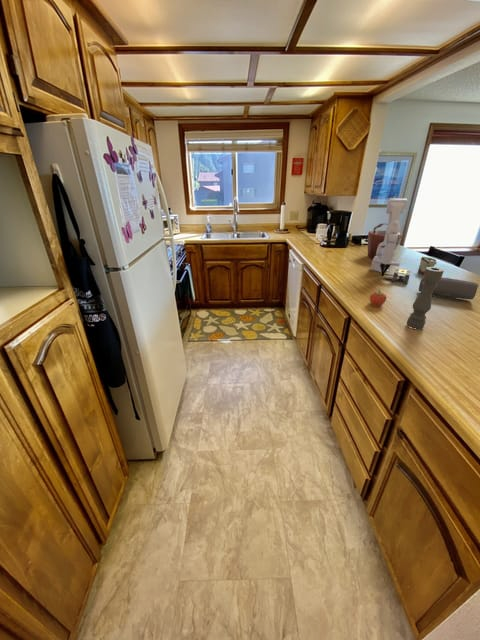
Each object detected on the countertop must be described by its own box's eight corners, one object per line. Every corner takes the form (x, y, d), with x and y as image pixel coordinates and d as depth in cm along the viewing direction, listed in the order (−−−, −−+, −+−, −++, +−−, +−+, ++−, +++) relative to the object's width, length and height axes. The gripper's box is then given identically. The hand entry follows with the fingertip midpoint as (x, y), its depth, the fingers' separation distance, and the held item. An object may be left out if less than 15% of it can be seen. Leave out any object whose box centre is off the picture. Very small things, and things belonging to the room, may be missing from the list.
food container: (435, 278, 162) (441, 262, 157) (424, 277, 163) (429, 262, 158) (427, 272, 173) (432, 257, 168) (416, 271, 174) (421, 256, 169)
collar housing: (391, 281, 158) (394, 272, 155) (393, 277, 164) (395, 268, 161) (406, 284, 154) (410, 274, 151) (407, 279, 160) (410, 270, 157)
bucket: (361, 253, 216) (367, 221, 204) (389, 254, 213) (398, 221, 201) (369, 261, 195) (377, 226, 183) (401, 262, 192) (411, 226, 180)
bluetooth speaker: (468, 297, 136) (476, 279, 131) (471, 304, 129) (480, 285, 124) (417, 289, 146) (423, 272, 142) (417, 295, 139) (423, 277, 135)
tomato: (383, 309, 125) (387, 294, 122) (366, 306, 129) (370, 290, 125) (385, 303, 131) (389, 288, 127) (369, 300, 134) (372, 286, 131)
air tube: (383, 278, 162) (384, 274, 160) (384, 277, 164) (385, 272, 163) (407, 282, 156) (409, 277, 154) (408, 281, 158) (409, 276, 156)
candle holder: (402, 323, 114) (421, 266, 102) (416, 322, 114) (436, 266, 102) (412, 330, 108) (433, 272, 96) (426, 329, 109) (449, 271, 97)
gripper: (373, 253, 157) (368, 275, 163) (401, 257, 150) (395, 279, 157) (375, 251, 162) (370, 272, 169) (402, 254, 155) (396, 276, 162)
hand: (382, 275), depth 163 cm, fingers closed
